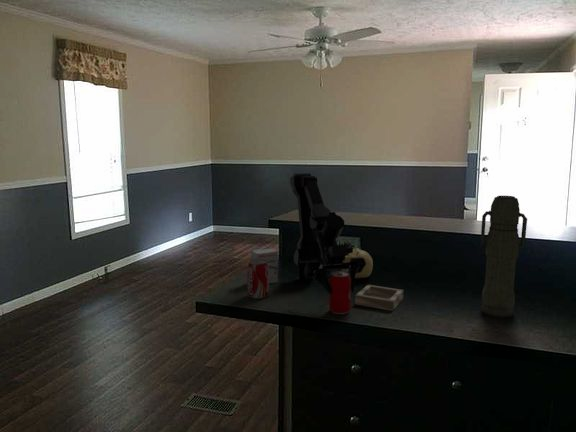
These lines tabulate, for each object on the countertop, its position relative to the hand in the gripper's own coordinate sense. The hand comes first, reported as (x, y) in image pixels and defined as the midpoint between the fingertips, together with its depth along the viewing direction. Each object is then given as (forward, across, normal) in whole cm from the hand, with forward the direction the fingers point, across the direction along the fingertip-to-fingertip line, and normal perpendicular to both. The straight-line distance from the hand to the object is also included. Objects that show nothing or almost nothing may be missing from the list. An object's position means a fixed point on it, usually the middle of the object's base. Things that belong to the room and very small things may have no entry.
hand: (341, 292), depth 140 cm
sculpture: (-18, +19, +28) cm, 39 cm away
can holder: (0, +16, +9) cm, 18 cm away
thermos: (+13, +46, -4) cm, 48 cm away
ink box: (-20, -16, +30) cm, 40 cm away
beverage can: (+4, 0, +6) cm, 7 cm away
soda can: (-10, -21, +20) cm, 31 cm away
